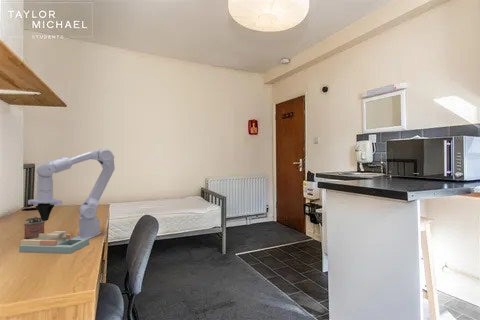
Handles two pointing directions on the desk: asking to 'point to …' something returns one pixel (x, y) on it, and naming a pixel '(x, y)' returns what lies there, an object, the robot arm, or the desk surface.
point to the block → (57, 236)
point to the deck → (53, 245)
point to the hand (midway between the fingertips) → (45, 220)
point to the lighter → (33, 228)
